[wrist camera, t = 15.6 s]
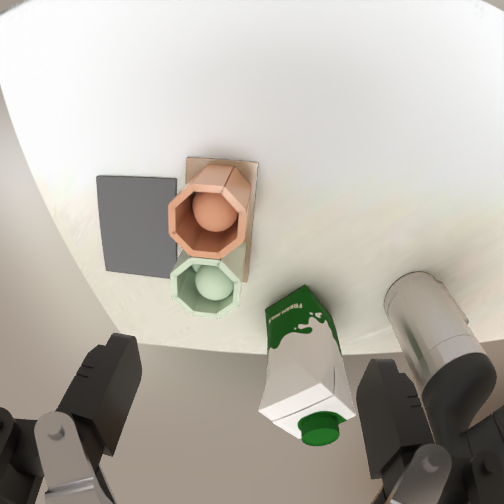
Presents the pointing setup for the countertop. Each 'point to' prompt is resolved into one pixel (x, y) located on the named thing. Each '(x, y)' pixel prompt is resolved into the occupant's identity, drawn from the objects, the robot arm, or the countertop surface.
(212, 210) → the ball rust
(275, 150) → the countertop surface
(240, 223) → the tubes
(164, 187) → the mat
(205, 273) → the ball sage
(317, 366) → the milk carton
